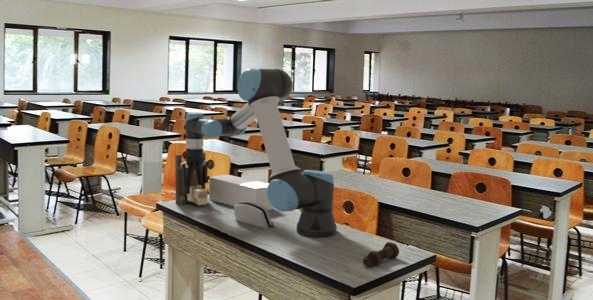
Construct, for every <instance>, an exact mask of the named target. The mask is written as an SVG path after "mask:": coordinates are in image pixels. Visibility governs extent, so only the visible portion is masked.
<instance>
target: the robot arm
mask: <svg viewBox="0 0 593 300" xmlns="http://www.w3.org/2000/svg"><path fill="white" fill-rule="evenodd" d="M293 84H294V83H293V81H292V78H291V76H290V75H289V74H288V72H286V71H285V70H282V69H279V68H258V67H255V68H248V69H245V70H243V72H242V73H241V74H240V75H239V79H238V81H237V93H238V96H239V98H240V99H241V100H242V101H244V102H246V103H245V104H244V105H243V106H242V107H240V109H238V110H237V111H235V113H233V114H232V115H230V116H229V117H226V118H225V117H223V118H222V117H221V118H205V117H204V113H203V112H196V111H195V112H187V113H186V114H185V147H186V149H185V157H186V158H185V160H184V161H183V162H182V163H180V167H181V180H182V185H184V186H186V193H187V200H188V201H192V187H191V186H190V185H191V180H192V174H193V171H194V169H196V173H197V178H198V183H199V184H198V185H197V187H200V188H202V189H203V185H204V184H205V185H206V184H207V183H208V168H209V163H210V161H208V160H205V161H204V159H203V152H204V137H206V138H209V139H211V138H212V139H213V138H214V139H216V138H218V137H223V136H238V135H243V134H245V132H246V130H247V127H248V126H249V125H250V124H252V123H253V122H254V121H257V124H258V127H259V131H260V134H261V138H262V142H263V145H264V149H265V152H266V156H267V158H268V161H269V162H268V163H269V166H270V169H271V174H270V176H269V183H267V184H268V186H267V188H268V190H267V196H268V199H269V202H270V203H271V205H272V206H273V207H274V209H275V210H277V211H279V212H283V213H284V212H294V211H296V210H300V209H301V211H300V215H299V219H298V222H297V224H296V232H297V233H298V234H300V235H303V236H306V237H312V238H324V237H333V236H334V235H336V234H337V233H338V232H337V229H338V227H337V223H336V220H335V217H334V209H333V206H334V191H335V190H334V187H335V182H334V181H335V180H334V179H335V178H334V177H335V176H334V175H333V174H332V173H331V172H327V171H322V170H314V169H313V170H312V169H305V170H302V169H301V168H300V167H298V166H297V165H295V161H294V158H293V154H292V150H291V148H290V144H289V140H288V137H287V134H286V131H285V127H284V124H283V120H282V117H281V114H280V110H279V107H278V106H279V105H281V104H282V103H283V102H285V101H286V100H287V99H288V98H289V97H290V96H291V94H292V92H293V87H294V85H293ZM202 164H203V167H202V169H201V165H202ZM186 167H188V173H187V176H186ZM201 170H202V172H201Z"/></svg>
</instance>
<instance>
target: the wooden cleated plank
mask: <svg viewBox="0 0 593 300" xmlns="http://www.w3.org/2000/svg"><path fill="white" fill-rule="evenodd" d="M174 157H175V159H174V160H175V161H174V162H175V164H174V165H175V166H174V167H175V179H174V180H175V181H174V183H175V204H176V205H180V206H181V205H184V206H185V205H186V204H187V203H192V202H191V201H188V200H186V186H184V185H182V180H181V167H180V163H183V161H182V159H183V158H182V154H179V153H177V154H175V156H174ZM203 159H204V161H206V152H204V151H203ZM202 167H203V164H202V165H201V169H202ZM201 172H202V170H201ZM187 173H188V166H186V176H187ZM198 184H199V183H198V178H197V173H196V169H194V171H193V174H192V180H191V185H195V186H197V185H198ZM191 185H190V186H191ZM203 189H205V190H206V183H205V184H204V185H203Z"/></svg>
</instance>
